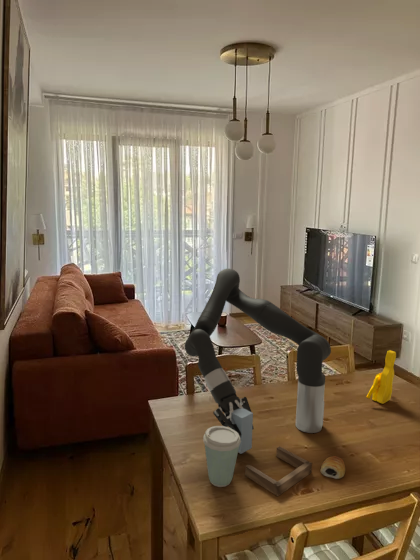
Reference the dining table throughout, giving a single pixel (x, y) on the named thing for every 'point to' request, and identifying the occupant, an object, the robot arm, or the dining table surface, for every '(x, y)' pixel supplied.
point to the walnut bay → (287, 481)
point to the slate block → (244, 428)
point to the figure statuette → (384, 380)
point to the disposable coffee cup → (221, 454)
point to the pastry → (333, 467)
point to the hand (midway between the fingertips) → (245, 433)
